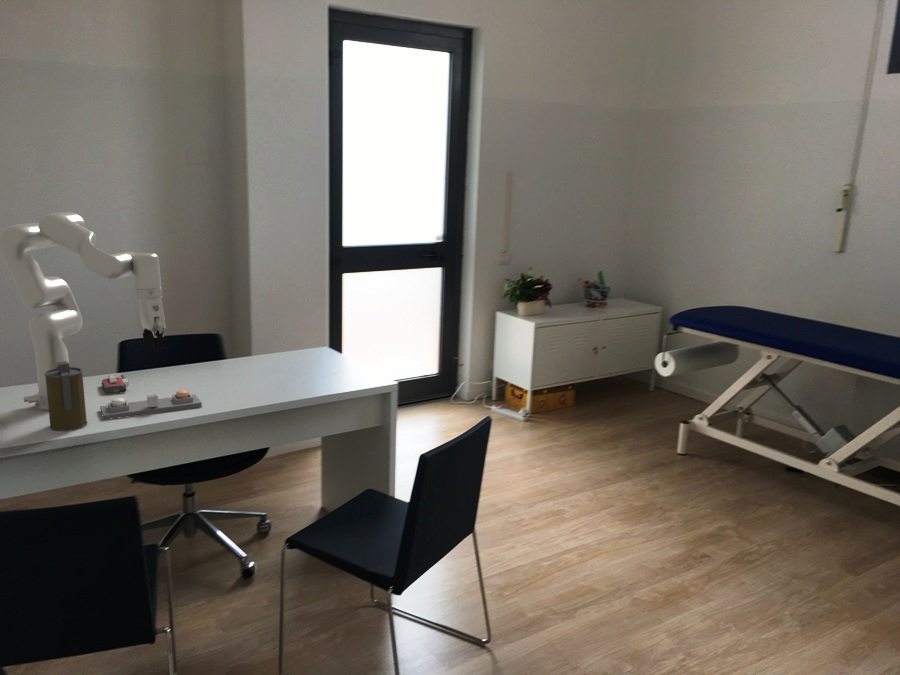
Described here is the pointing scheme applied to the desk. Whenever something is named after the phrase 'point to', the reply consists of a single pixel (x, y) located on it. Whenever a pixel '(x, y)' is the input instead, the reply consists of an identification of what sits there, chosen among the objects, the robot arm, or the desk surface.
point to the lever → (152, 400)
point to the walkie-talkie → (115, 384)
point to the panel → (143, 408)
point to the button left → (118, 402)
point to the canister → (66, 397)
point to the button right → (182, 394)
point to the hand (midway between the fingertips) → (154, 346)
